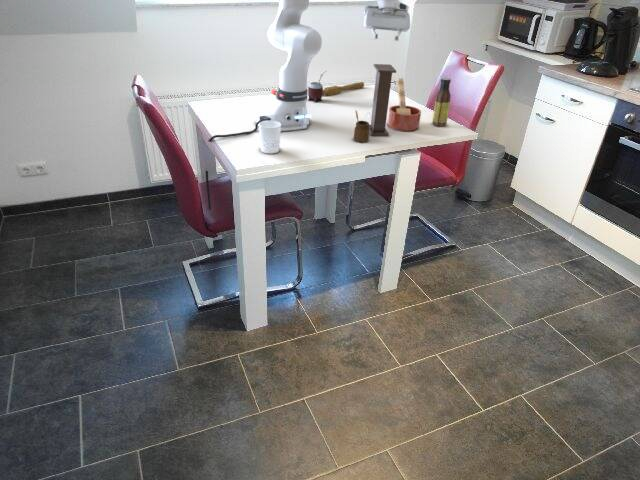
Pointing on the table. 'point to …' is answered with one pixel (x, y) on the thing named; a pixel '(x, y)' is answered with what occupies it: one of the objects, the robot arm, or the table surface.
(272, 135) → the white cup
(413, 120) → the bowl
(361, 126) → the wooden mate cup
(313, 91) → the mate gourd
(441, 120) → the sauce bottle
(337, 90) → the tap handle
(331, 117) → the table surface
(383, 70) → the stand
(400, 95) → the light wooden bar
